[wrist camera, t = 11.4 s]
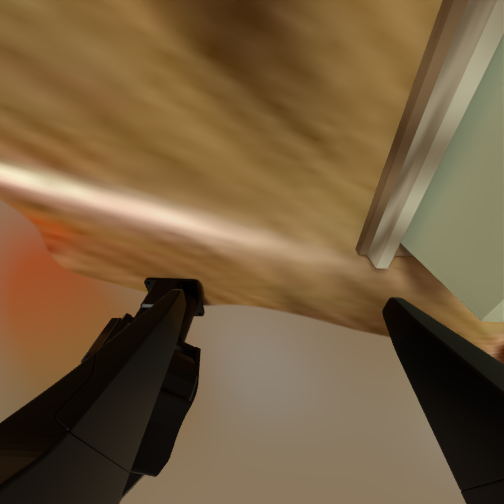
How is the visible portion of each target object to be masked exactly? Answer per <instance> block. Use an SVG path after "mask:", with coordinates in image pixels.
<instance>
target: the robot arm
mask: <svg viewBox="0 0 504 504" xmlns="http://www.w3.org/2000/svg"><path fill="white" fill-rule="evenodd" d="M144 283H145V286H146V288H147V290H148V294H147V296H146V297H145V299H144V300H143V302H142V304H141V307H140V309H139V311H138V312H137V314H136V315H135V317H132V316H131V315H129V314H128V313H126V314H125V316H123V318H122V319H121V318H112V319H111V320H110V321H109V323H108V324H107V325H106V327H105V328H104V329H103V331H102V332H101V334H100V335H99V336H98V338H97V339H96V340H95V342H94V343H93V345H92V346H91V348H90V349H89V351H88V352H87V353H86V355H85V356H84V358H83V359H82V360H81V364H80V365H79V366H77V367H76V368H75V369H73V370H72V371H71V372H70V373H68V374H67V375H66V376H64V377H63V378H62V379H60V380H59V381H58V382H56V383H55V384H54V385H52V386H51V387H50V388H48V389H47V390H45V391H44V392H43V393H41V394H40V395H38V396H37V397H36V398H34V399H33V400H31V401H30V402H29V403H27V404H26V405H25V406H23V407H22V408H20V409H19V410H18V411H16V412H15V413H13V414H12V415H11V416H9V417H8V418H6V419H5V420H4V421H2V422H1V423H0V504H119V503H120V501H121V499H122V498H123V497H124V496H125V495H126V494H127V493H128V492H129V491H130V490H131V489H132V488H133V486H134V485H135V484H136V483H137V482H138V481H139V480H140V479H141V478H142V477H143V476H144V475H149V476H154V477H156V476H157V475H158V474H159V473H160V472H161V470H162V469H163V467H164V466H165V465H166V463H167V462H168V460H169V458H170V455H171V452H172V449H173V446H174V443H175V440H176V437H177V434H178V432H179V429H180V427H181V425H182V422H183V420H184V418H185V416H186V414H187V412H188V410H189V409H190V407H191V405H192V403H193V401H194V398H195V395H196V392H197V388H198V379H199V366H200V351H201V349H200V348H198V347H193V346H191V345H189V344H187V343H185V340H186V337H187V334H188V331H189V328H190V325H191V322H192V319H193V317H194V316H203V315H204V307H203V303H202V298H201V293H200V289H199V284H198V281H197V280H195V279H172V278H146V280H145V281H144ZM193 283H194V284H193ZM382 313H383V317H384V320H385V323H386V326H387V329H388V332H389V335H390V337H391V340H392V343H393V346H394V348H395V350H396V353H397V355H398V358H399V360H400V362H401V364H402V366H403V368H404V370H405V373H406V375H407V377H408V379H409V381H410V383H411V385H412V388H413V390H414V392H415V394H416V396H417V398H418V401H419V403H420V405H421V407H422V409H423V411H424V413H425V415H426V417H427V420H428V422H429V424H430V426H431V428H432V431H433V433H434V435H435V437H436V439H437V441H438V443H439V445H440V447H441V450H442V452H443V454H444V456H445V458H446V461H447V463H448V465H449V467H450V469H451V471H452V473H453V476H454V478H455V480H456V482H457V484H458V486H459V489H460V490H461V493H462V495H463V498H464V500H465V502H466V504H504V364H503V363H501V362H500V361H498V360H497V359H495V358H493V357H492V356H490V355H489V354H487V353H486V352H484V351H483V350H481V349H480V348H478V347H477V346H475V345H473V344H472V343H470V342H469V341H467V340H466V339H464V338H463V337H461V336H460V335H458V334H456V333H455V332H453V331H452V330H450V329H449V328H447V327H446V326H444V325H443V324H441V323H440V322H438V321H436V320H435V319H433V318H432V317H430V316H429V315H427V314H426V313H424V312H423V311H421V310H420V309H418V308H416V307H415V306H413V305H412V304H410V303H409V302H407V301H406V300H404V299H403V298H398V297H391V298H389V300H388V301H387V303H386V305H385V307H384V308H383V311H382Z"/></svg>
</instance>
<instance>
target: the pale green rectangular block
mask: <svg viewBox="0 0 504 504" xmlns="http://www.w3.org/2000/svg"><path fill="white" fill-rule="evenodd" d="M400 243H401V244H402V245H403V246H404V247H405V248H406V249H407V250H408V251H409V252H410V253H411V254H412V255H413V256H414V257H416V258H417V259H418V260H419V261H420V262H421V263H422V264H423V265H424V266H425V267H426V268H427V269H428V270H429V271H430V272H431V273H432V274H433V275H434V276H435V277H436V278H437V279H438V280H439V281H440V282H441V283H442V284H443V285H444V286H445V287H446V288H447V289H448V290H449V291H450V292H451V293H452V294H453V295H454V296H456V297H457V298H458V299H459V300H460V301H461V302H462V303H463V304H464V305H465V306H466V307H467V308H468V309H469V310H470V311H471V312H472V313H473V314H474V315H475V316H476V317H477V318H478V319H479V320H480V321H490V322H504V34H503V36H502V38H501V40H500V42H499V44H498V46H497V48H496V50H495V52H494V54H493V56H492V58H491V60H490V62H489V64H488V66H487V69H486V71H485V73H484V75H483V77H482V79H481V81H480V83H479V85H478V87H477V89H476V91H475V93H474V95H473V97H472V99H471V101H470V103H469V105H468V107H467V109H466V111H465V113H464V115H463V117H462V119H461V121H460V123H459V125H458V127H457V129H456V131H455V133H454V135H453V137H452V139H451V141H450V143H449V145H448V147H447V149H446V151H445V153H444V155H443V157H442V159H441V162H440V164H439V166H438V168H437V170H436V172H435V174H434V176H433V178H432V180H431V182H430V184H429V186H428V188H427V190H426V192H425V194H424V196H423V198H422V200H421V202H420V204H419V206H418V208H417V210H416V212H415V214H414V216H413V218H412V220H411V222H410V224H409V226H408V228H407V230H406V232H405V234H404V236H403V238H402V240H401V242H400Z"/></svg>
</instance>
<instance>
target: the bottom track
mask: <svg viewBox="0 0 504 504" xmlns="http://www.w3.org/2000/svg"><path fill="white" fill-rule="evenodd" d="M503 34H504V0H443V2H442V5H441V7H440V10H439V13H438V16H437V19H436V22H435V25H434V27H433V30H432V33H431V36H430V39H429V42H428V45H427V47H426V50H425V53H424V56H423V59H422V62H421V64H420V67H419V70H418V73H417V76H416V79H415V82H414V84H413V87H412V90H411V93H410V96H409V99H408V101H407V104H406V107H405V110H404V113H403V116H402V119H401V121H400V124H399V127H398V130H397V133H396V136H395V138H394V141H393V144H392V147H391V150H390V153H389V156H388V158H387V161H386V164H385V167H384V170H383V173H382V176H381V178H380V181H379V184H378V187H377V190H376V193H375V195H374V198H373V201H372V204H371V207H370V210H369V213H368V215H367V218H366V221H365V224H364V227H363V230H362V232H361V235H360V238H359V241H358V244H357V247H356V251H357V252H358V254H359V255H367V256H368V257H369V259H370V260H371V262H372V263H373V264H374V266H375V267H376V268H386V269H388V267H389V265H390V263H391V261H392V259H393V257H394V256H413V255H412V254H411V253H410V252H409V251H408V250H407V249H406V248H405V247H404V246H403V245H402V244H401V243H400V242H401V240H402V238H403V236H404V234H405V232H406V230H407V228H408V226H409V224H410V222H411V220H412V218H413V216H414V214H415V212H416V210H417V208H418V206H419V204H420V202H421V200H422V198H423V196H424V194H425V192H426V190H427V188H428V186H429V184H430V182H431V180H432V178H433V176H434V174H435V172H436V170H437V168H438V166H439V164H440V162H441V159H442V157H443V155H444V153H445V151H446V149H447V147H448V145H449V143H450V141H451V139H452V137H453V135H454V133H455V131H456V129H457V127H458V125H459V123H460V121H461V119H462V117H463V115H464V113H465V111H466V109H467V107H468V105H469V103H470V101H471V99H472V97H473V95H474V93H475V91H476V89H477V87H478V85H479V83H480V81H481V79H482V77H483V75H484V73H485V71H486V69H487V66H488V64H489V62H490V60H491V58H492V56H493V54H494V52H495V50H496V48H497V46H498V44H499V42H500V40H501V38H502V36H503Z"/></svg>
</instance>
